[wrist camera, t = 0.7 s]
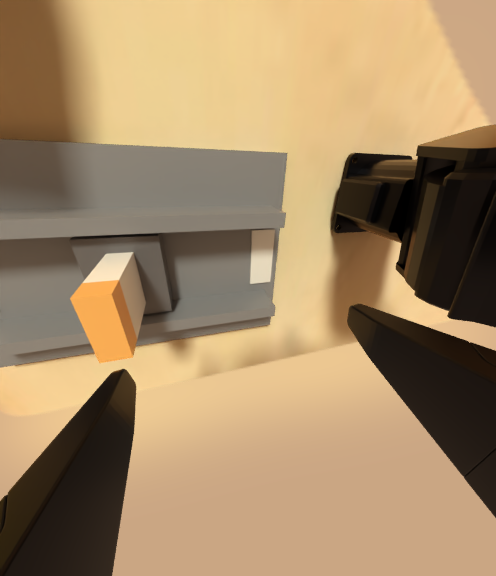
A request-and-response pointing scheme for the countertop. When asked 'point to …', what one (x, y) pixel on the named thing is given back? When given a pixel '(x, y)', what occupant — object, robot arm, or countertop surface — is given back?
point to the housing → (135, 220)
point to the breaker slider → (119, 289)
